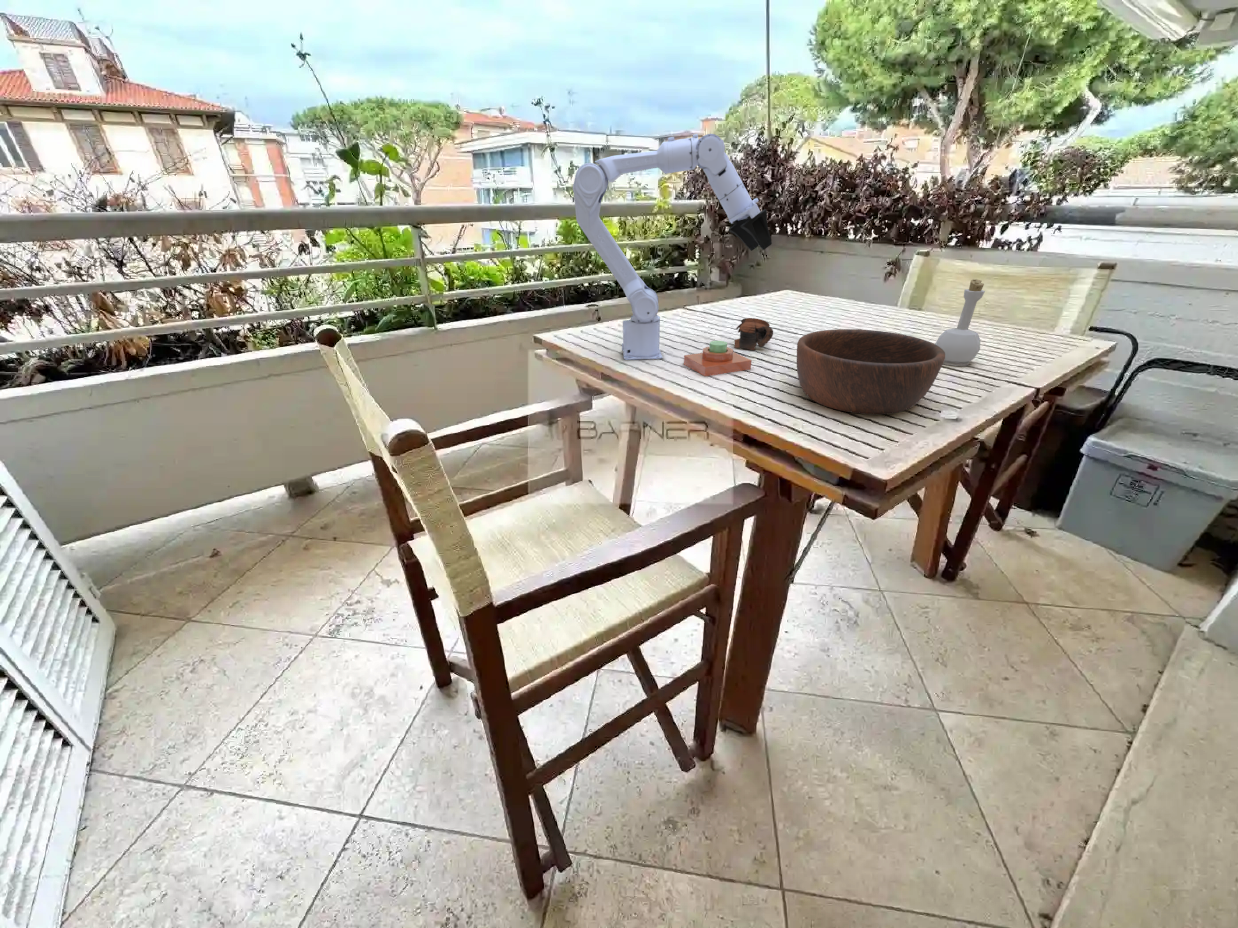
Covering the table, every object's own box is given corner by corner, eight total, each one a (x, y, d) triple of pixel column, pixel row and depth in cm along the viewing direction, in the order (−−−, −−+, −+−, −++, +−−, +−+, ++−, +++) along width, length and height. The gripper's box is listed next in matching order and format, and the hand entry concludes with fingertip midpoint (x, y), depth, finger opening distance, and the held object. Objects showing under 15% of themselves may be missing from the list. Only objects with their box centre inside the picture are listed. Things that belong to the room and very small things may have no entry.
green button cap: (714, 355, 109) (715, 346, 108) (705, 350, 112) (706, 341, 111) (729, 352, 110) (730, 344, 109) (720, 348, 114) (721, 339, 113)
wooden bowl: (951, 398, 93) (969, 345, 88) (891, 435, 80) (907, 375, 75) (831, 368, 110) (840, 322, 105) (764, 394, 97) (771, 343, 92)
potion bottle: (961, 356, 116) (987, 277, 107) (982, 367, 108) (1012, 283, 100) (923, 356, 117) (946, 277, 108) (940, 367, 109) (967, 283, 101)
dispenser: (704, 376, 107) (706, 359, 105) (683, 364, 115) (684, 347, 113) (750, 369, 111) (752, 352, 109) (726, 358, 119) (728, 341, 117)
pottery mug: (723, 347, 129) (731, 317, 128) (747, 358, 134) (755, 329, 133) (757, 345, 118) (766, 312, 118) (782, 357, 124) (790, 326, 123)
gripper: (758, 173, 97) (789, 234, 101) (735, 184, 110) (764, 237, 115) (728, 196, 98) (761, 255, 102) (709, 205, 111) (739, 256, 116)
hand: (761, 247), depth 109 cm, fingers open, 7 cm apart
